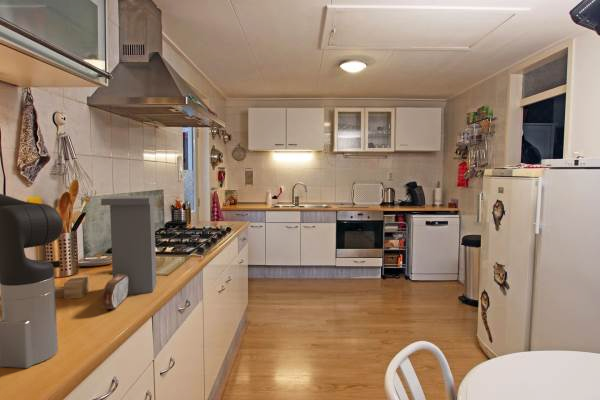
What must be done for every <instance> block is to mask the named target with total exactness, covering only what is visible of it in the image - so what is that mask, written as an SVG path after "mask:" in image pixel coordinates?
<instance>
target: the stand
mask: <svg viewBox="0 0 600 400" xmlns="http://www.w3.org/2000/svg"><path fill="white" fill-rule="evenodd" d="M155 201H156V198H155V195H121V196H120V195H118V196H117V195H115V196H113V195H112V196H108V197H104V198H101V199H100V202H101V203H100V205H101V206H109V213H110V215H109V217H110V219H109V220H110V237H111V238H110V241H111V244H110V245H111V264H112V268H111V269H112V278H114V277H115V276H116V275H118V274H120V275H127V276H128V277H129V291H128V295H134V294H135V295H136V294H137V295H138V294H146V293H147V294H148V293H153V292H154V290H155V288H156V286H157V261H156V259H157V257H156V234H155V233H156V231H155V230H156V228H155V227H156V226H155V225H156V223H155Z"/></svg>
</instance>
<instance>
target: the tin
mask: <svg viewBox="0 0 600 400" xmlns="http://www.w3.org/2000/svg"><path fill="white" fill-rule="evenodd" d="M128 291H129V277H128V276H127V275H120V274H118V275H116V276H115V277H114V278H113V277H112V278H111V279H109V280H108V281H107V282H106V284H105V285H104V288H103V292H102V297H101V300H102V301H101V302H102V306H103V309H104V310H115V309H117V308H118V307H119V306H120V305H122V303H123V302H124V301H126V299H127V297H128V295H129V294H128Z"/></svg>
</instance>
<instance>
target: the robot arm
mask: <svg viewBox="0 0 600 400" xmlns="http://www.w3.org/2000/svg"><path fill="white" fill-rule="evenodd" d="M63 228H64V223H63V218H62V216H61V215H60V213H59V212H58V210H56V209H55V208H54V207H53V206H51V205H49V204H46V203H38V202H31V201H25V200H21V199H18V198H15V197H12V196H9V195H5V194H2V193H0V303H1V304H0V307H1V320H0V368H1V367H2V368H20V369H21V368H23V369H27V368H30V367H32V366H33V365H36V364H39V363H42V362H44V361H47V360H49V359H50V358H52V357H54V356H55V355H56V354H57V353H58V351H59V346H58V345H59V344H58V342H59V341H58V326H57V325H58V324H57V310H56V309H57V308H56V307H57V302H56V297H55V287H56V286H55V269H58V268H61V265H62V261H60V260H52V261H51V260H49V259H46V258H45V259H32V258H30V257H27V256H26V253H25V249H28V248H29V249H30V248H36V247H41V246H46V245H49V244H51V243H53V242H55V241H56V240H58V238H60V236H61V234H62V233H63Z"/></svg>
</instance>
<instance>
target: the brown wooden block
mask: <svg viewBox="0 0 600 400" xmlns="http://www.w3.org/2000/svg"><path fill="white" fill-rule="evenodd" d="M90 286H91V285H90V275H77V276H75V275H74V276H71V277H70V278H69V279H68V280H67V281H64V283H63V286H62V285H61V286H55V298H59V297H60V298H61V297H64V299H79V298H83V297H85V295H86V294H87V293H88V292H89V291H90V290H91V288H90Z"/></svg>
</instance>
